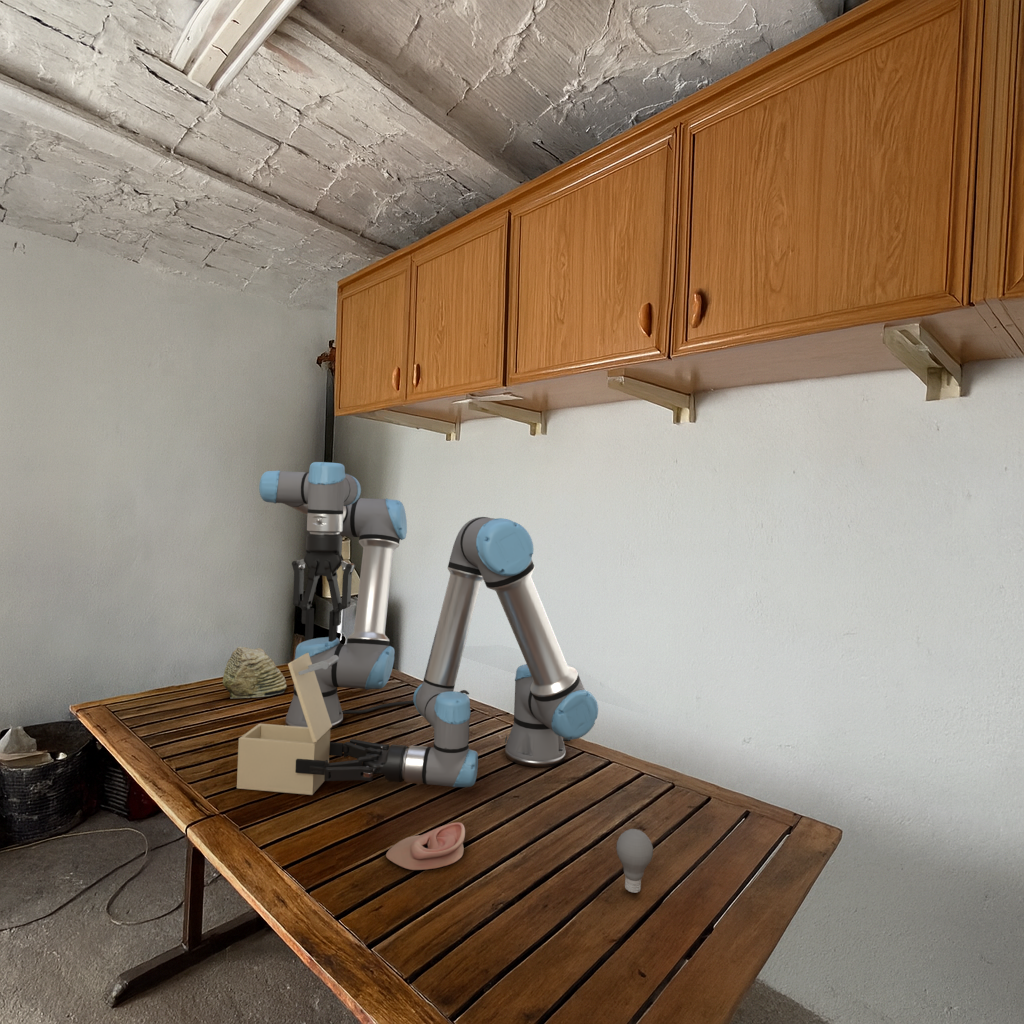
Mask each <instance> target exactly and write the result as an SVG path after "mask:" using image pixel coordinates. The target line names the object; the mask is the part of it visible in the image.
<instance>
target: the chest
mask: <svg viewBox="0 0 1024 1024" xmlns="http://www.w3.org/2000/svg"><path fill="white" fill-rule="evenodd" d="M330 742H331V729H329V730H328V731H327V732H326V733H325V734H324V735H323V736H322V737H321V738H320V739H319V740H318V741H317V742H314V743H313V741H312V738H311V735H310V732H309V729H308V727H298V726H286V724H284V725H283V724H270V723H258V724H257V725H255V726H254V727H252V728H251V729H250V730H248V731H247V732H245V733H244V734H242V735H241V736H240V737H239V738H238V748H237V770H236V771H237V772H236V773H237V775H236V789H241V790H252V791H263V792H272V793H273V792H274V793H284V794H285V793H286V794H296V795H297V794H298V795H308V796H313V795H314V794H315V792H316V791H317V790H318V789H319V788H320V787H321V786H322V785H323V783H324V782H326V781H325V780H324V775H318V774H305V773H295V770H296V759H308V760H321V761H326V760H328V763H330V755H329V752H330Z"/></svg>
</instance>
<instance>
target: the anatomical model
mask: <svg viewBox="0 0 1024 1024" xmlns="http://www.w3.org/2000/svg"><path fill="white" fill-rule="evenodd" d="M465 837H466V828H465V825H464V824H463V823H462V822H458V821H457V822H452V823H448V824H444V825H442V826H441V825H440V826H438V827H436V828H434V829H432V830H429V831H427V832H425V833H423V834H420V835H411V836H407V837H406V838H403V839H401V840H400V841H398V842H397V843H396V844H394V845H392V847H390V848H389V849H388V851H387V852H386V854H385V857H386V859H387V860H389V861H391V862H392V863H393V864H395V865H397V866H399V867H401V868H404V869H406V870H410V871H422V870H423V871H424V870H432V869H433V870H434V869H438V868H442V867H443V868H444V867H447V866H449V865H452V864H454V863H456V862H458V861H459V860H460V859H461V858H462V857H463V855H464V852H465V850H464V841H465Z"/></svg>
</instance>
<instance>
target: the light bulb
mask: <svg viewBox="0 0 1024 1024" xmlns="http://www.w3.org/2000/svg"><path fill="white" fill-rule="evenodd" d="M615 849H616V854H617V857H618V859H619V861H620V863H621V865H622V867H623V873H624V874H623V875H624V876H625V878H624V888H625V890H627V891H628V892H630V893H634V894H635V893H639V892H640V891H641V889H642V887H641V886H642V879H643V877H644V875H645V871H646V868H647V867H648V866H649V864H650V863H651V861H652V859H653V855H654V847H653V843H652V841H651V838H649V836H648V835H647V834H646V833H645V832H643V831H642V830H641V829H636V828H629V829H627V830H625V831H623V832H622V833H621V834H620V835H619V837H618V839H617V841H616V847H615Z"/></svg>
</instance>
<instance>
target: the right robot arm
mask: <svg viewBox="0 0 1024 1024" xmlns="http://www.w3.org/2000/svg"><path fill="white" fill-rule="evenodd" d="M533 555H534V542H533V538H532V536H531V535H530V533H529V531H528V530H527V529H526V528H525V527H524V526H523V525H521V524H520V523H518V522H516V521H513V520H511V519H508V518H502V517H498V518H494V517H488V516H477V517H474V518H471V519H469V521H467V522H466V523H465V524H463V526H461V528H460V530H459V531H458V533H457V535H456V537H455V539H454V543H453V546H452V550H451V553H450V556H449V560H448V564H447V570H448V572H449V578H448V581H447V586H446V590H445V594H444V598H443V602H442V605H441V610H440V612H439V613H440V614H439V618H438V621H437V625H436V630H435V633H434V636H433V642H432V644H431V648H430V649H431V650H430V653H429V655H428V656H429V657H428V660H427V663H426V664H427V665H426V669H425V673H424V676H423V680H422V683H420V684H419V685H417V687H416V689H415V690H414V693H413V696H412V700H413V702H414V703H413V704H414V707H415V708H416V709H415V710H416V711H417V712H418V713H419V715H420V716H421V717H423V718H424V719H425V720H426V721H427V723H428V724H429V725H430V726H431V727H432V728H433V736H434V737H433V747H431V746H423V745H410V746H409V747H408V746H407V745H405V744H391V745H390V744H387V743H385V744H384V743H376V742H370V741H364V740H361V739H355V738H354V739H353V738H352V739H349V741H345V742H333V741H330V752H329V756H334V757H343V758H344V759H345V758H347V757H351V758H353V760H343V761H336V762H329V763H328V760H326V761H321V760H308V759H296V770H295V773H305V774H318V775H324V780H325V781H324V782H342V781H343V782H344V781H345V782H346V781H347V782H348V781H364V782H372V781H373V780H374V775H383V776H384V779H385V780H386V781H387V783H388V782H390V783H403V782H405V783H408V784H416V786H420V785H428V786H429V785H431V786H441V787H451V788H471V787H473V786H474V785H475V784H476V781H477V776H478V770H479V754H478V752H477V751H476V750H473V749H470V746H469V742H470V741H469V740H470V739H469V738H470V720H471V715H472V714H471V713H472V712H471V700H470V697H469V695H468V694H465V693H461V692H460V691H456V690H455V686H456V681H457V677H458V675H459V669H460V666H461V663H462V658H463V654H464V650H465V647H466V642H467V638H468V635H469V631H470V627H471V624H472V619H473V615H474V613H475V612H474V611H475V607H476V603H477V600H478V595H479V591H480V588H481V584H482V582H484V585H485V586H486V588H487V589H489V590H492V591H494V592H496V595H497V598H498V600H499V602H500V604H501V607H502V609H503V611H504V614H505V617H506V618H507V621H508V623H509V626H510V629H511V631H512V633H513V635H514V638H515V640H516V642H517V645H518V648H519V650H520V651H521V652H520V653H521V654H522V657H523V659H524V662H525V664H522V665H518V667H517V668H516V671H515V677H514V709H513V725H512V727H511V729H510V732H509V735H506V736H505V738H504V744H505V749H504V750H505V752H504V754H505V758H507V759H508V760H509V761H511V762H513V763H515V764H517V765H519V766H520V765H521V766H524V767H531V768H549V767H553V766H557V765H559V764H561V763H563V762H564V761H565V759H566V751H567V750H566V745H565V742H571V741H572V740H579V739H581V738H582V737H584V736H586V735H587V734H588V733H589V732H590V731H591V730H592V729H593V727H594V725H595V723H596V720H597V718H598V716H599V704H598V701H597V698H596V697H595V696H594V694H592V693H591V691H589V690H587V689H585V687H584V685H583V682H582V680H581V677H580V675H579V673H578V670H577V669H576V668H575V667H573V666H570V665H569V664H568V663H567V660H566V658H565V656H564V653H563V651H562V648H561V646H560V644H559V641H558V639H557V636H556V633H555V631H554V628H553V627H552V624H551V622H550V619H549V617H548V615H547V614H548V613H547V611H546V609H545V607H544V604H543V602H542V600H541V596H540V595H539V592H538V589H537V587H536V584H535V583H534V580H533V577H532V575H533V573H534V570H535V568H536V567H535V564H534V562H533V559H532V558H533Z"/></svg>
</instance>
